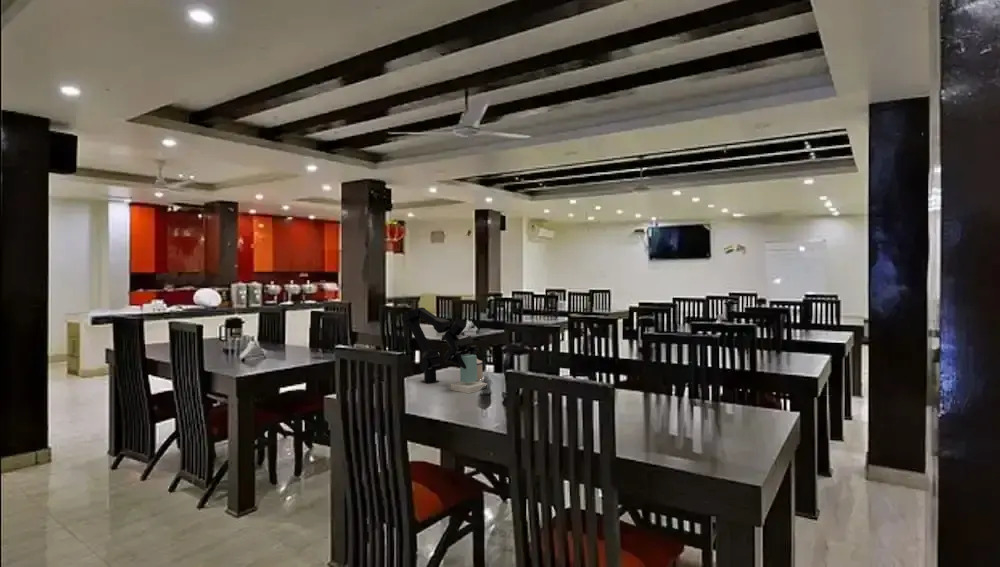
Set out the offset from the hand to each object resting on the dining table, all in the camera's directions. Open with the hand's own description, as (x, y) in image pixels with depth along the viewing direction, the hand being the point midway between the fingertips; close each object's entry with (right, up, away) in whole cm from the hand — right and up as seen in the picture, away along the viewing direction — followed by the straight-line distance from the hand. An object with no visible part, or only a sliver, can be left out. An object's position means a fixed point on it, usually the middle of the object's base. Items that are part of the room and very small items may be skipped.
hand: (470, 367), depth 277 cm
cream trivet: (-1, -10, +1) cm, 11 cm away
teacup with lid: (-1, -10, +24) cm, 26 cm away
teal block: (-1, -7, +1) cm, 7 cm away
